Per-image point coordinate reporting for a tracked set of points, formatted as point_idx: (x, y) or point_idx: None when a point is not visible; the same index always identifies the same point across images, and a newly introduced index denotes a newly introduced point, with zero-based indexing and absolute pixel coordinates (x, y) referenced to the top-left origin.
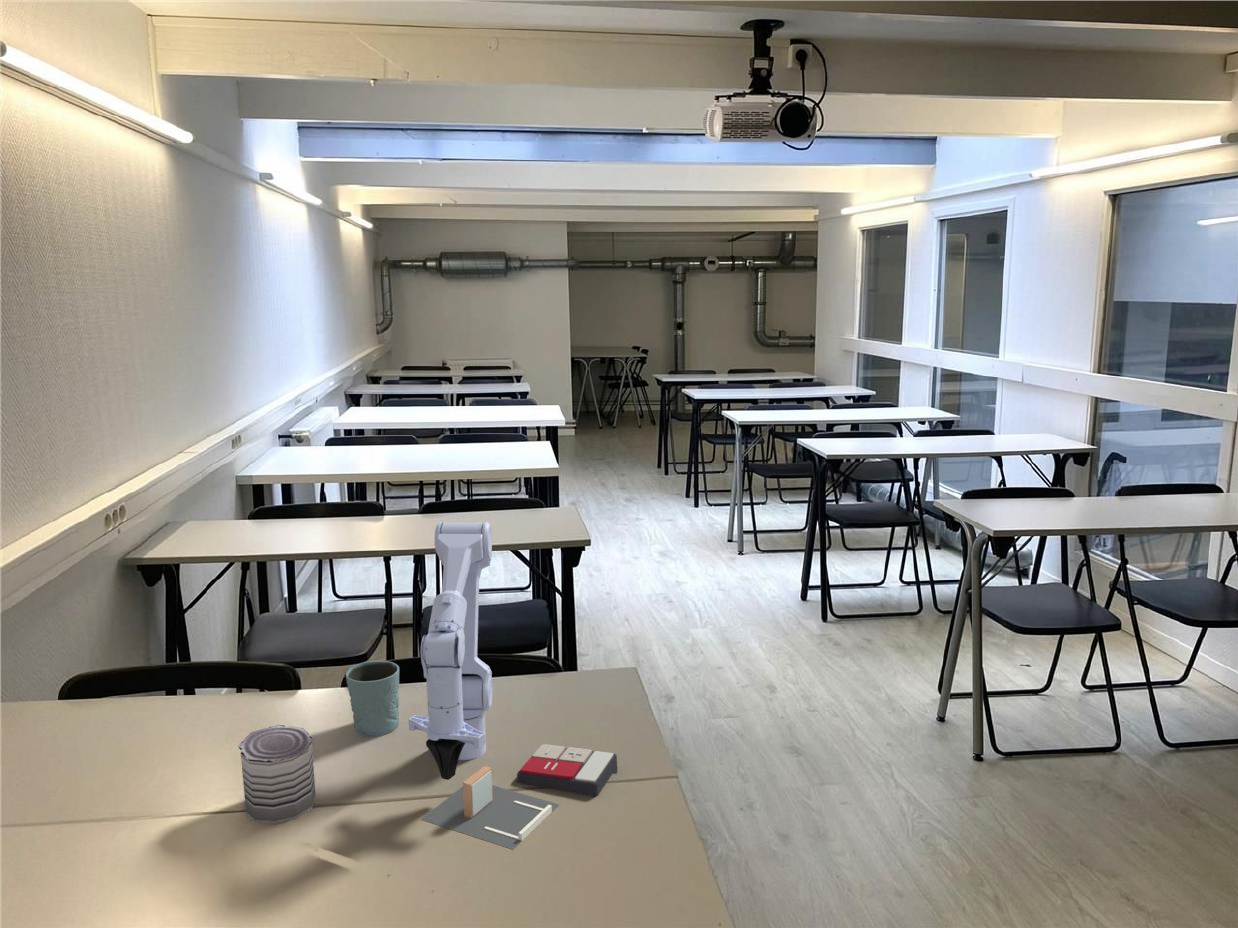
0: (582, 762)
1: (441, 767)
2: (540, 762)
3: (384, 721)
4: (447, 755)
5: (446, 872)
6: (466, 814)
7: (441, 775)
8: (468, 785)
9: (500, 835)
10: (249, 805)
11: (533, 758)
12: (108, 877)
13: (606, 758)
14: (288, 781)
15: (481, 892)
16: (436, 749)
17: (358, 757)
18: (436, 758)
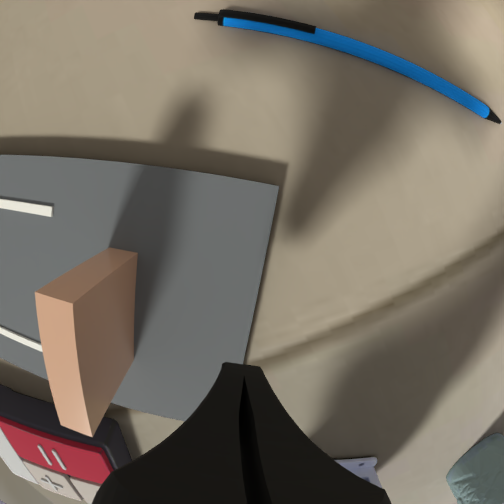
0: (23, 460)
1: (252, 397)
2: (82, 471)
3: (474, 469)
4: (161, 453)
5: (96, 21)
6: (125, 252)
7: (258, 371)
8: (48, 292)
9: (11, 193)
10: None
11: None
12: None
13: (7, 462)
14: None
15: (18, 22)
16: (273, 490)
17: (500, 390)
18: (287, 434)
